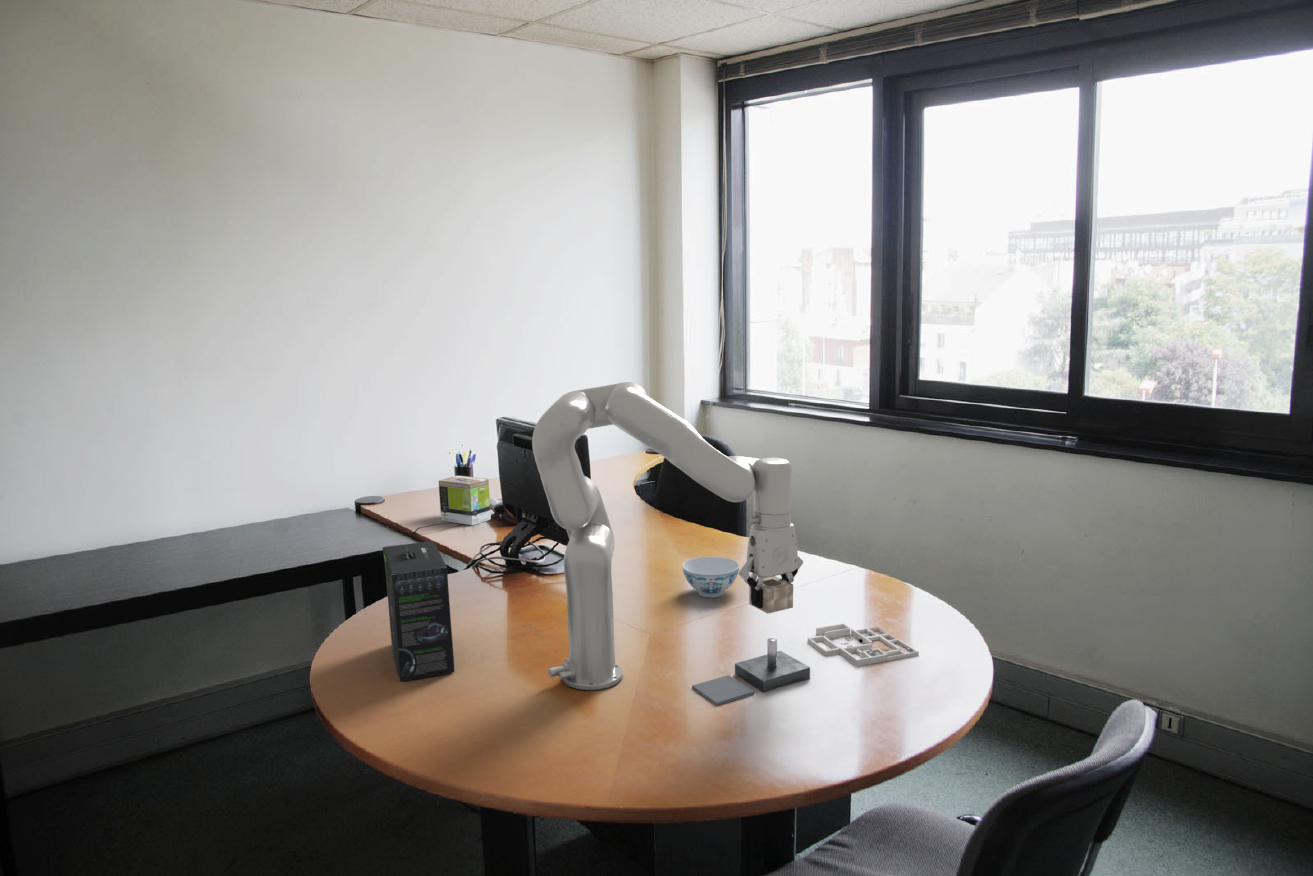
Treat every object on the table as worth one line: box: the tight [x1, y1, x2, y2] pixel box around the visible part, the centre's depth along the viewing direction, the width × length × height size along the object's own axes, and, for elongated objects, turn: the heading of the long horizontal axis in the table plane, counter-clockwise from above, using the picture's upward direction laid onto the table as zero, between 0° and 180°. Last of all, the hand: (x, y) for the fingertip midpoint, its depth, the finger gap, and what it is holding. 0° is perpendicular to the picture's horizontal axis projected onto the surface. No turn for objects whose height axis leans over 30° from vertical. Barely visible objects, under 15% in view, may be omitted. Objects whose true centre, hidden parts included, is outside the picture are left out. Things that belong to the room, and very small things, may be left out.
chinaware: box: [681, 555, 740, 598], centre depth 241 cm, size 15×15×8 cm
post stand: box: [734, 637, 811, 694], centre depth 191 cm, size 12×10×8 cm
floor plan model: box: [807, 622, 920, 667], centre depth 205 cm, size 19×25×2 cm
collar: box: [748, 576, 794, 615], centre depth 188 cm, size 6×6×5 cm
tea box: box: [438, 475, 492, 526], centre depth 317 cm, size 15×10×15 cm, turn 58°
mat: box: [691, 674, 755, 706], centre depth 185 cm, size 9×9×1 cm
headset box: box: [382, 540, 455, 682], centre depth 202 cm, size 22×12×26 cm, turn 21°
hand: (770, 602), depth 188 cm, fingers closed on collar, 6 cm apart
